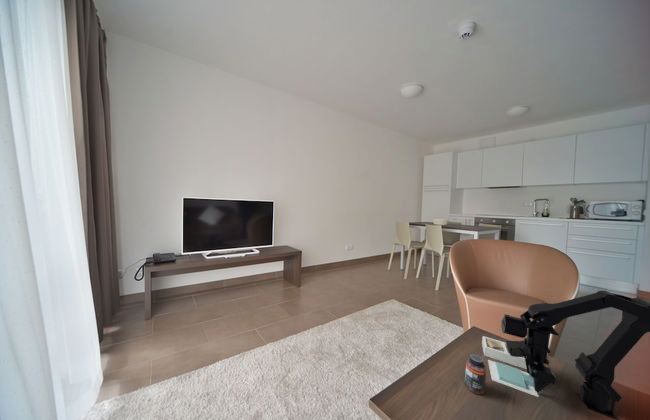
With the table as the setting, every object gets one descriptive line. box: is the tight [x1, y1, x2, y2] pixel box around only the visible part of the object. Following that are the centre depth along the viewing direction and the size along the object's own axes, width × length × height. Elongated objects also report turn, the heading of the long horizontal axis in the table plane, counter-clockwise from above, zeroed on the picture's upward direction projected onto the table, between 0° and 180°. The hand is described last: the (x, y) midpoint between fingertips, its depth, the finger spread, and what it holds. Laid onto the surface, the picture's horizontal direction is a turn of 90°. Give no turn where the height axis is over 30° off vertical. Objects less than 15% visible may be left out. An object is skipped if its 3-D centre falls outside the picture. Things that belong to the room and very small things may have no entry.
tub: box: [481, 335, 527, 370], centre depth 96 cm, size 15×9×4 cm, turn 60°
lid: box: [495, 361, 534, 389], centre depth 84 cm, size 12×9×2 cm
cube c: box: [487, 340, 503, 352], centre depth 98 cm, size 4×4×4 cm
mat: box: [487, 359, 539, 398], centre depth 85 cm, size 13×12×1 cm
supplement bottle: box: [464, 353, 487, 395], centre depth 79 cm, size 6×6×11 cm
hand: (532, 381), depth 82 cm, fingers open, 9 cm apart
